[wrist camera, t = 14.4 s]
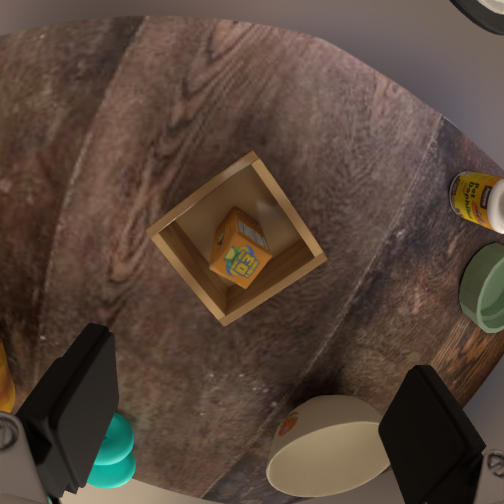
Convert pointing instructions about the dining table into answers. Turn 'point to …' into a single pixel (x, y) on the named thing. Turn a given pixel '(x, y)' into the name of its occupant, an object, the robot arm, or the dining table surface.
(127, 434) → the turquoise yo-yo
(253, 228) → the supplement box
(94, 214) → the dining table surface
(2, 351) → the decorative pumpkin
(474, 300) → the green bowl
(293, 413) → the bowl
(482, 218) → the supplement bottle
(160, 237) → the wooden holder
